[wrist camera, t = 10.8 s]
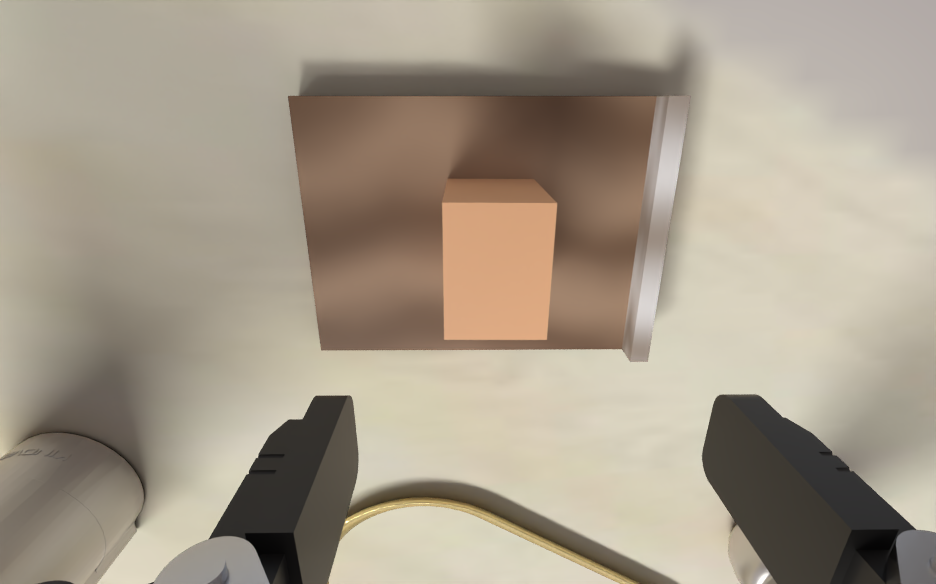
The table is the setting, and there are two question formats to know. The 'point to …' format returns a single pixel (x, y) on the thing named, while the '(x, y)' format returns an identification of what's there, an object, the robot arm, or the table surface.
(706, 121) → the table surface
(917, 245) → the table surface
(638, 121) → the shelf board
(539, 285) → the carton
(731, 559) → the plastic bottle
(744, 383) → the table surface
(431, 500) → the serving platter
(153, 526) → the table surface
